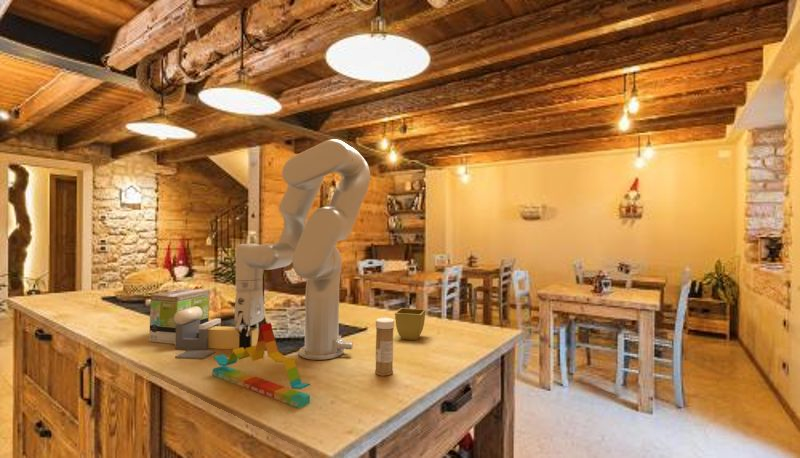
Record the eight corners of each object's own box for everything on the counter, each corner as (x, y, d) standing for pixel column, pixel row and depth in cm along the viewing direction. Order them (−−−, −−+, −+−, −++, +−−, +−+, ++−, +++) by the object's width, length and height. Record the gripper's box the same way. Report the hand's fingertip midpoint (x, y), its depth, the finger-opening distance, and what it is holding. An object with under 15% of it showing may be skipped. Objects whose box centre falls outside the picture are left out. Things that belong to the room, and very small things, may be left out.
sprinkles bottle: (374, 370, 101) (375, 317, 101) (392, 369, 102) (393, 317, 102) (375, 376, 97) (376, 321, 97) (394, 376, 97) (394, 321, 97)
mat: (215, 352, 114) (215, 350, 114) (203, 359, 108) (203, 357, 108) (189, 351, 114) (189, 349, 114) (175, 357, 108) (175, 356, 108)
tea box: (176, 344, 121) (177, 295, 121) (148, 342, 123) (148, 294, 123) (209, 332, 135) (210, 288, 135) (184, 330, 137) (184, 287, 137)
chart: (211, 376, 96) (212, 314, 96) (223, 373, 99) (224, 312, 99) (297, 410, 79) (299, 334, 79) (309, 404, 82) (311, 331, 82)
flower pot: (393, 340, 128) (394, 312, 128) (400, 333, 137) (400, 307, 137) (420, 342, 126) (421, 314, 126) (425, 335, 135) (425, 309, 135)
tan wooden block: (258, 346, 120) (258, 327, 120) (251, 350, 116) (252, 331, 116) (214, 344, 121) (214, 326, 121) (206, 348, 118) (206, 329, 118)
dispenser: (190, 340, 125) (191, 305, 125) (221, 342, 124) (221, 306, 124) (172, 348, 116) (172, 311, 116) (204, 350, 115) (205, 312, 115)
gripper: (247, 289, 110) (247, 356, 110) (273, 281, 126) (272, 339, 126) (221, 289, 110) (221, 355, 110) (250, 281, 127) (250, 338, 127)
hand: (248, 346), depth 118 cm, fingers closed on tan wooden block, 4 cm apart
